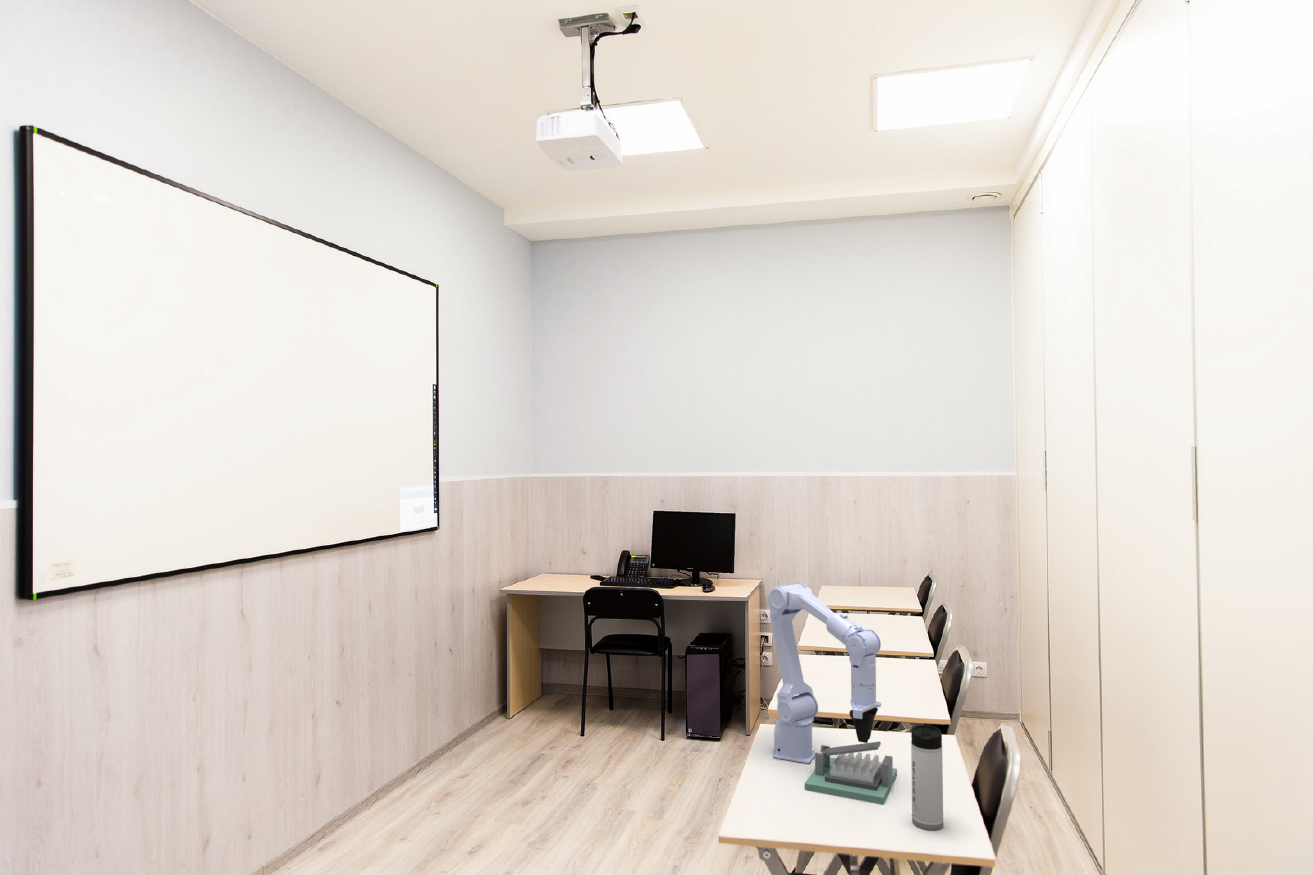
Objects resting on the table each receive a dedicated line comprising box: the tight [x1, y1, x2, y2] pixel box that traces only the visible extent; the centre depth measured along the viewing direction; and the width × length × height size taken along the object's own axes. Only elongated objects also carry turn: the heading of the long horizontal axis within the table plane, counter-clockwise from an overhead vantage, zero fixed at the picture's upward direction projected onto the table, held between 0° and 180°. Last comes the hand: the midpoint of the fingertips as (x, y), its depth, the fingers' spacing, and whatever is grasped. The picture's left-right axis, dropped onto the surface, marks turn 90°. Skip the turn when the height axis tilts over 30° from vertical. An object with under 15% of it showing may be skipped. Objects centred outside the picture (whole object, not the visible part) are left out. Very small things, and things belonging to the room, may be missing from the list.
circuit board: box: [804, 757, 898, 805], centre depth 186 cm, size 18×18×2 cm
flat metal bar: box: [819, 741, 881, 757], centre depth 187 cm, size 14×4×1 cm, turn 64°
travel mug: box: [910, 722, 944, 831], centre depth 165 cm, size 6×7×20 cm
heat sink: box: [814, 744, 894, 787], centre depth 186 cm, size 17×10×5 cm, turn 64°
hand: (864, 740), depth 185 cm, fingers closed
